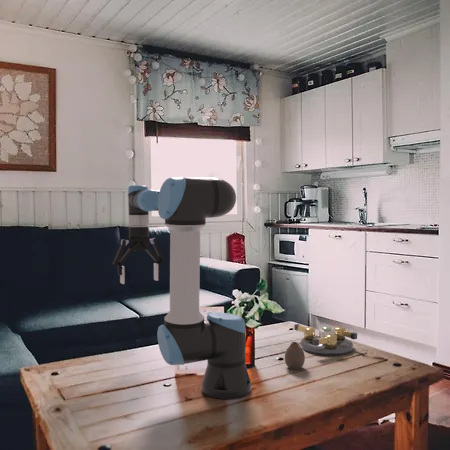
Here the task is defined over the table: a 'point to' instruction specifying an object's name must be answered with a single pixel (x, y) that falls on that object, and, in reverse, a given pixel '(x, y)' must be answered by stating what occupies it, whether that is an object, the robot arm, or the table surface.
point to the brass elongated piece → (344, 334)
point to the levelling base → (307, 346)
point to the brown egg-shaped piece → (294, 356)
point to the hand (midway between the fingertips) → (139, 281)
